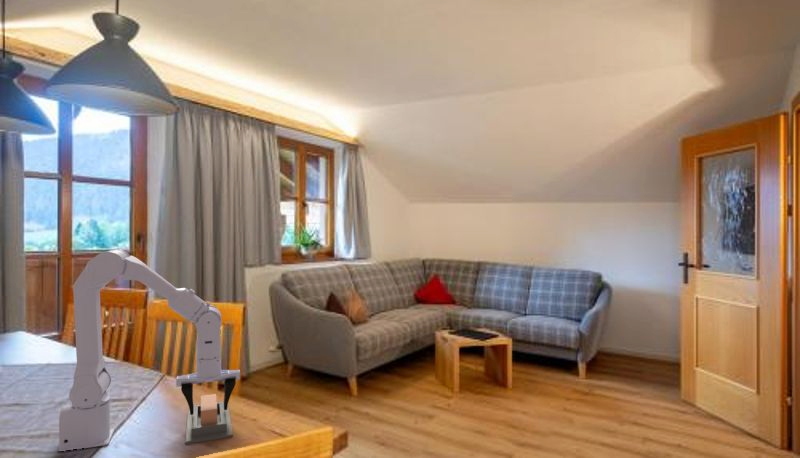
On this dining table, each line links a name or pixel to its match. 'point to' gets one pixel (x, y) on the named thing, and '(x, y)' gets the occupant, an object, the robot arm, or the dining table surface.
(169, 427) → the dining table surface
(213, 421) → the terracotta bar
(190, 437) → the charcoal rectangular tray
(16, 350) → the dining table surface
